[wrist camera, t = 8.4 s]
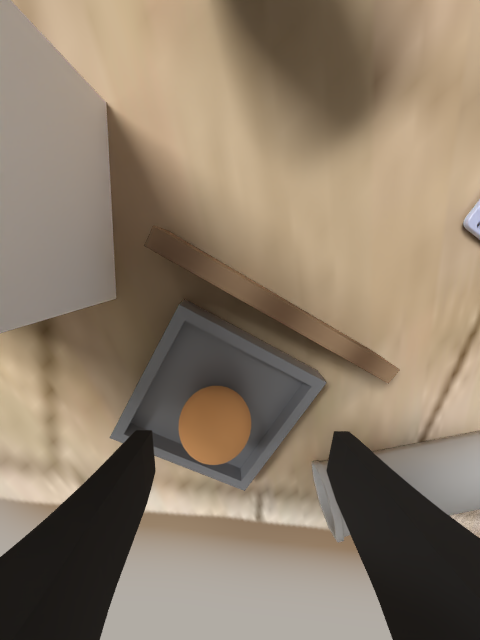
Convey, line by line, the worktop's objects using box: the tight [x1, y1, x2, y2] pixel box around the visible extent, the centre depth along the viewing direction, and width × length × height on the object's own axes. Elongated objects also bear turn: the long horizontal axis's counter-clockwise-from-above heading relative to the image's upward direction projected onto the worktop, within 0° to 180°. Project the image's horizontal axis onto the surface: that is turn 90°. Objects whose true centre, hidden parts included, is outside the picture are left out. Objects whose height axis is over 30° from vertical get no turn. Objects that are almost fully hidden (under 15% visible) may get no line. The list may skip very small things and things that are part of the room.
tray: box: [110, 299, 326, 491], centre depth 18 cm, size 12×12×2 cm
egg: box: [179, 386, 251, 465], centre depth 16 cm, size 5×5×5 cm
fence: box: [144, 226, 399, 383], centre depth 16 cm, size 18×1×3 cm, turn 60°
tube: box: [312, 431, 480, 542], centre depth 20 cm, size 5×5×25 cm
